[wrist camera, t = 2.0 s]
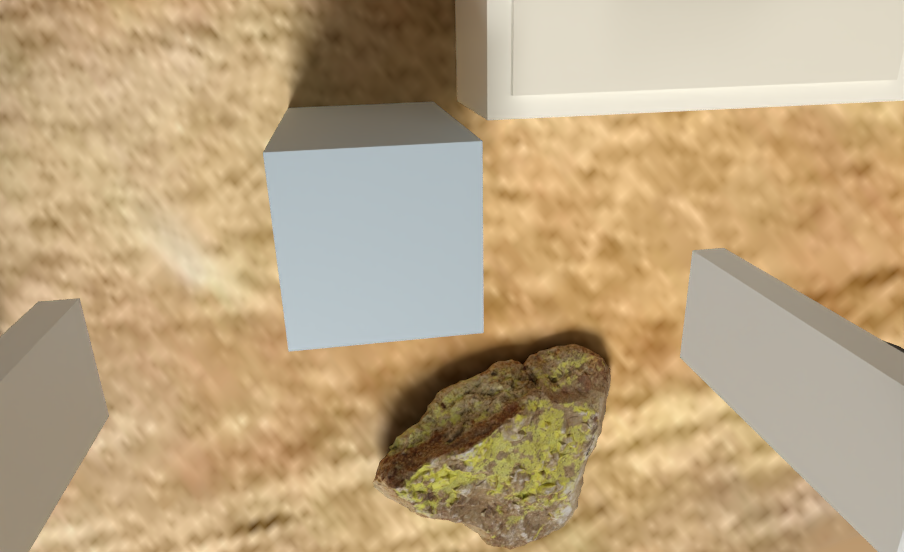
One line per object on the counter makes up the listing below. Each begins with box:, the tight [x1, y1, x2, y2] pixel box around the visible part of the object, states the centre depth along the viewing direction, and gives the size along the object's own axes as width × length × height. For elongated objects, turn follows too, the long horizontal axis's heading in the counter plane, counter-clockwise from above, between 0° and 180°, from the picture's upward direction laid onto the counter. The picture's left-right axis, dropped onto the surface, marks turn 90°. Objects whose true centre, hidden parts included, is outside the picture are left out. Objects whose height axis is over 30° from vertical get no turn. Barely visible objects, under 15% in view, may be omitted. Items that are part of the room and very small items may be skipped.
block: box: [263, 102, 484, 351], centre depth 24 cm, size 6×6×10 cm
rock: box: [373, 344, 611, 549], centre depth 33 cm, size 12×7×10 cm
